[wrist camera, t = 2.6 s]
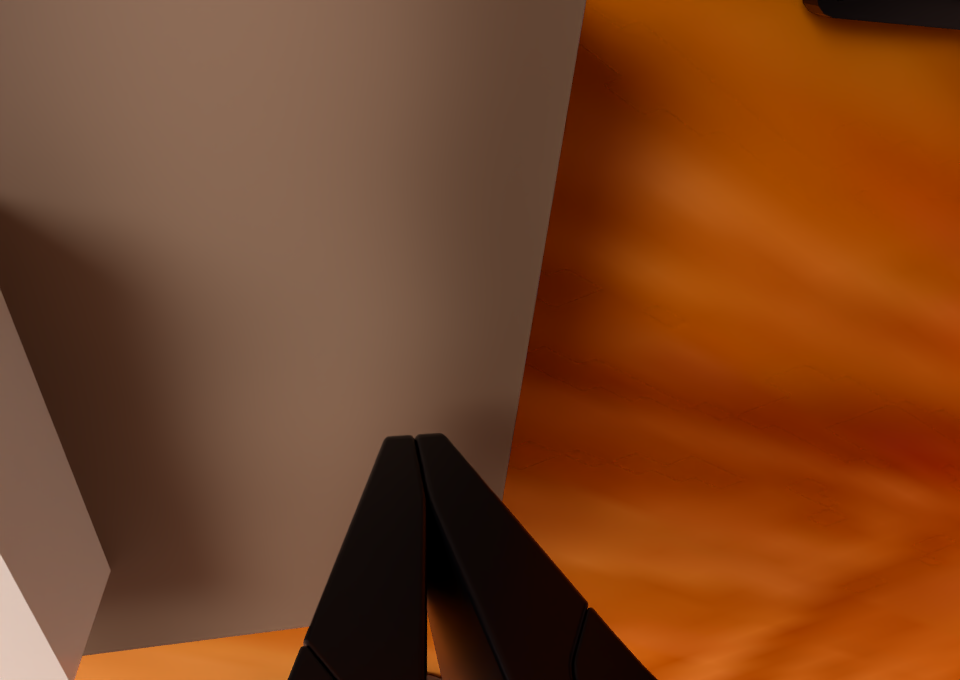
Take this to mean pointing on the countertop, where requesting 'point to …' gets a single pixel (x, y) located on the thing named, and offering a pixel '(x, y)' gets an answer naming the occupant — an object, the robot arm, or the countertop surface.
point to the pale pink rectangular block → (40, 533)
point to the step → (269, 269)
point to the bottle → (432, 678)
